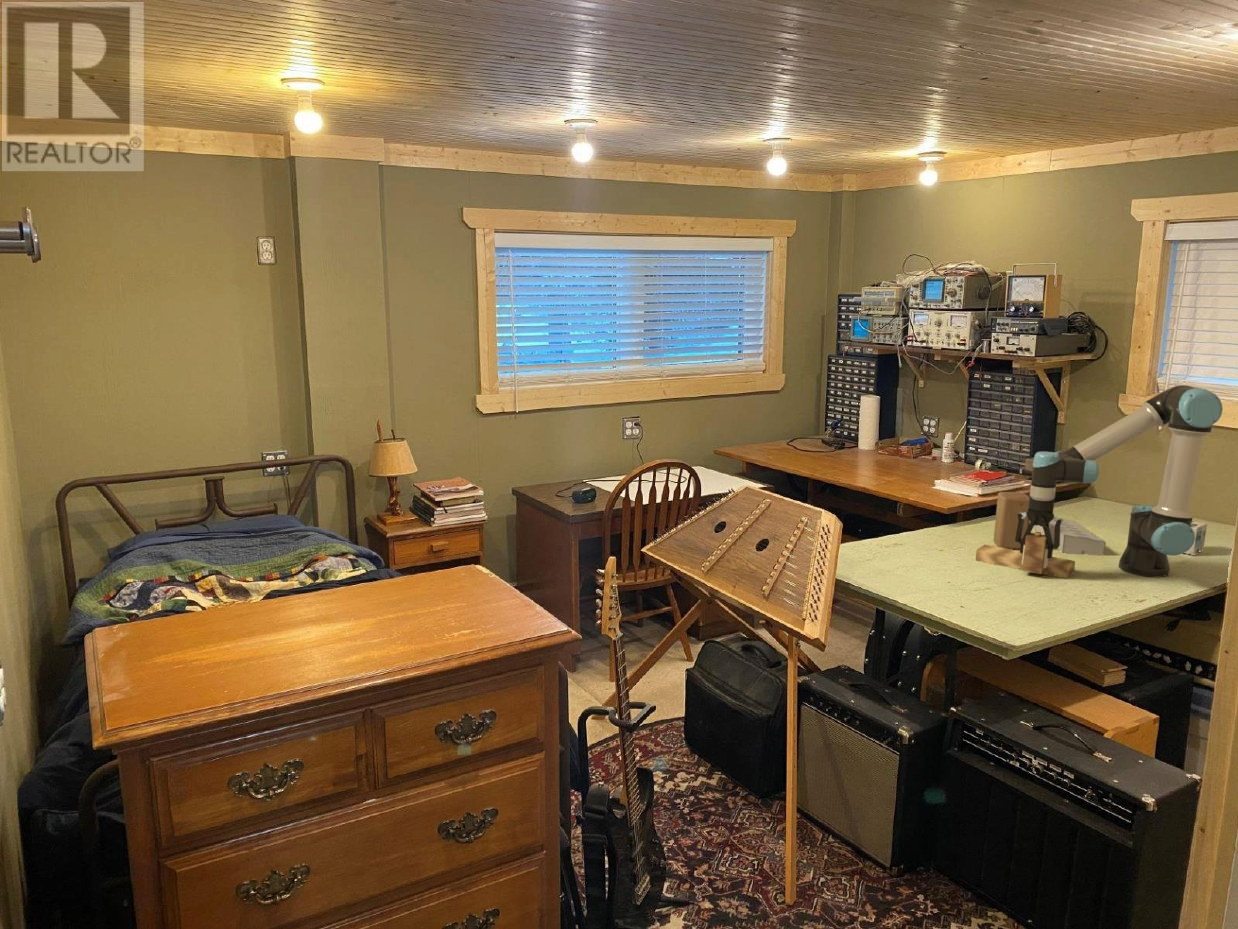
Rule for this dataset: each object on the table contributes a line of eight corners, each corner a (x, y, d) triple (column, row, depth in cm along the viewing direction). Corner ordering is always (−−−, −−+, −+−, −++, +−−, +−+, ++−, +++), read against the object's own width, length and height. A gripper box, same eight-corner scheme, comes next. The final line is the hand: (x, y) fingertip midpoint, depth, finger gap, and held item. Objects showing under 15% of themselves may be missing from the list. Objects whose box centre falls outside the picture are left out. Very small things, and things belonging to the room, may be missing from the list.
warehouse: (1103, 556, 319) (1106, 536, 318) (1062, 554, 321) (1064, 534, 320) (1072, 534, 349) (1074, 516, 347) (1034, 533, 350) (1036, 514, 349)
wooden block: (1027, 551, 324) (1032, 498, 320) (998, 549, 326) (1003, 496, 322) (1020, 543, 333) (1025, 492, 329) (992, 542, 335) (997, 491, 331)
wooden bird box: (1052, 564, 303) (1056, 527, 300) (1041, 574, 291) (1045, 536, 289) (1033, 560, 307) (1037, 524, 304) (1022, 570, 295) (1026, 532, 293)
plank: (1074, 572, 299) (1075, 560, 298) (1067, 578, 292) (1069, 566, 292) (983, 555, 318) (984, 544, 317) (975, 560, 311) (976, 549, 310)
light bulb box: (1193, 556, 320) (1197, 528, 318) (1173, 552, 325) (1177, 524, 323) (1203, 551, 327) (1208, 523, 325) (1183, 547, 332) (1187, 519, 330)
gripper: (1075, 500, 288) (1068, 568, 292) (1014, 492, 299) (1008, 557, 304) (1070, 504, 282) (1062, 573, 286) (1008, 495, 294) (1001, 561, 298)
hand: (1034, 564), depth 295 cm, fingers closed on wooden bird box, 6 cm apart
